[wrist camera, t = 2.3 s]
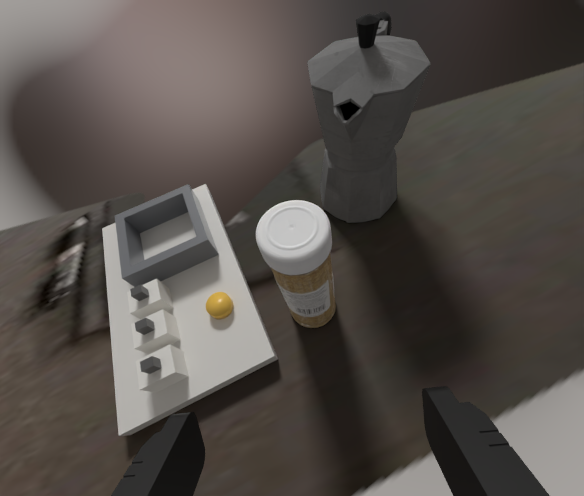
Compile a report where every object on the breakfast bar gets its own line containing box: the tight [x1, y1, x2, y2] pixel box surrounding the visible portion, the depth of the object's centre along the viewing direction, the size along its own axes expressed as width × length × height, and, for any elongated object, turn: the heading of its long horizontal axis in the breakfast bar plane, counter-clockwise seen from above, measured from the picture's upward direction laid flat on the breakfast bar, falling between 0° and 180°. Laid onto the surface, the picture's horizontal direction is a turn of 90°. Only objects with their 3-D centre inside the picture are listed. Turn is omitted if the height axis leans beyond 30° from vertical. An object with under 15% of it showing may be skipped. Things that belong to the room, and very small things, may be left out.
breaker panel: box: [102, 184, 278, 436], centre depth 29 cm, size 14×24×5 cm, turn 24°
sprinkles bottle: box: [256, 200, 336, 328], centre depth 22 cm, size 5×5×14 cm
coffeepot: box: [308, 12, 430, 223], centre depth 28 cm, size 15×9×18 cm, turn 160°
